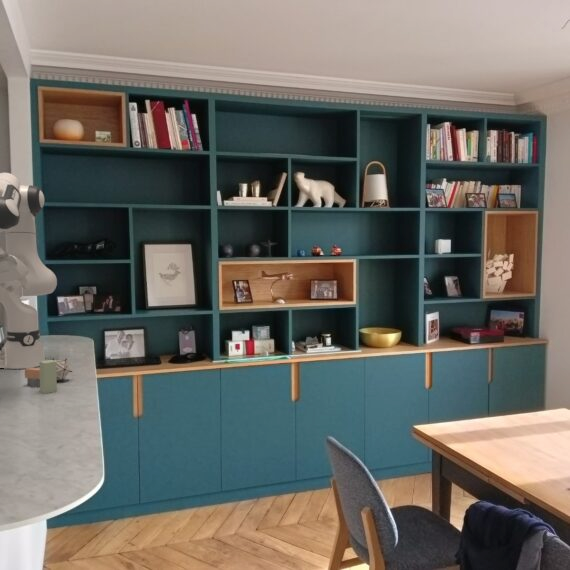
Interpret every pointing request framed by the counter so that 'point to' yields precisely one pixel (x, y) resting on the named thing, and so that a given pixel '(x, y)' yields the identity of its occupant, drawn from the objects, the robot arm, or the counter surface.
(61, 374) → the game die
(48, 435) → the counter surface
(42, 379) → the green block
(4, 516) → the counter surface
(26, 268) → the robot arm
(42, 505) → the counter surface
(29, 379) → the charcoal brick
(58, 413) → the counter surface
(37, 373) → the terracotta brick
